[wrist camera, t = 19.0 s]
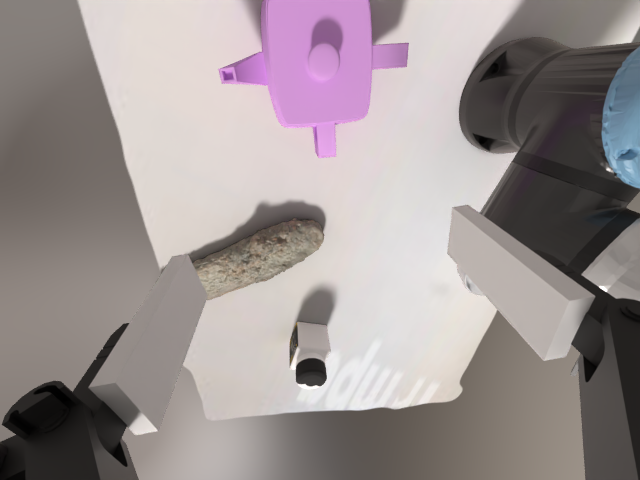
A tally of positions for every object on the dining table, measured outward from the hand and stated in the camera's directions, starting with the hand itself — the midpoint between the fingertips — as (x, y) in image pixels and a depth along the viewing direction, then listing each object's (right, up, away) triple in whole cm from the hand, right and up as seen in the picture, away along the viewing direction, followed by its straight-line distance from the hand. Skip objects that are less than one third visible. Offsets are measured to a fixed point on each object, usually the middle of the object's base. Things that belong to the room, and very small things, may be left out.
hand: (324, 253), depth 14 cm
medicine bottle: (-3, -21, +50) cm, 54 cm away
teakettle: (-2, +25, +24) cm, 34 cm away
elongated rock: (-16, -3, +39) cm, 42 cm away
